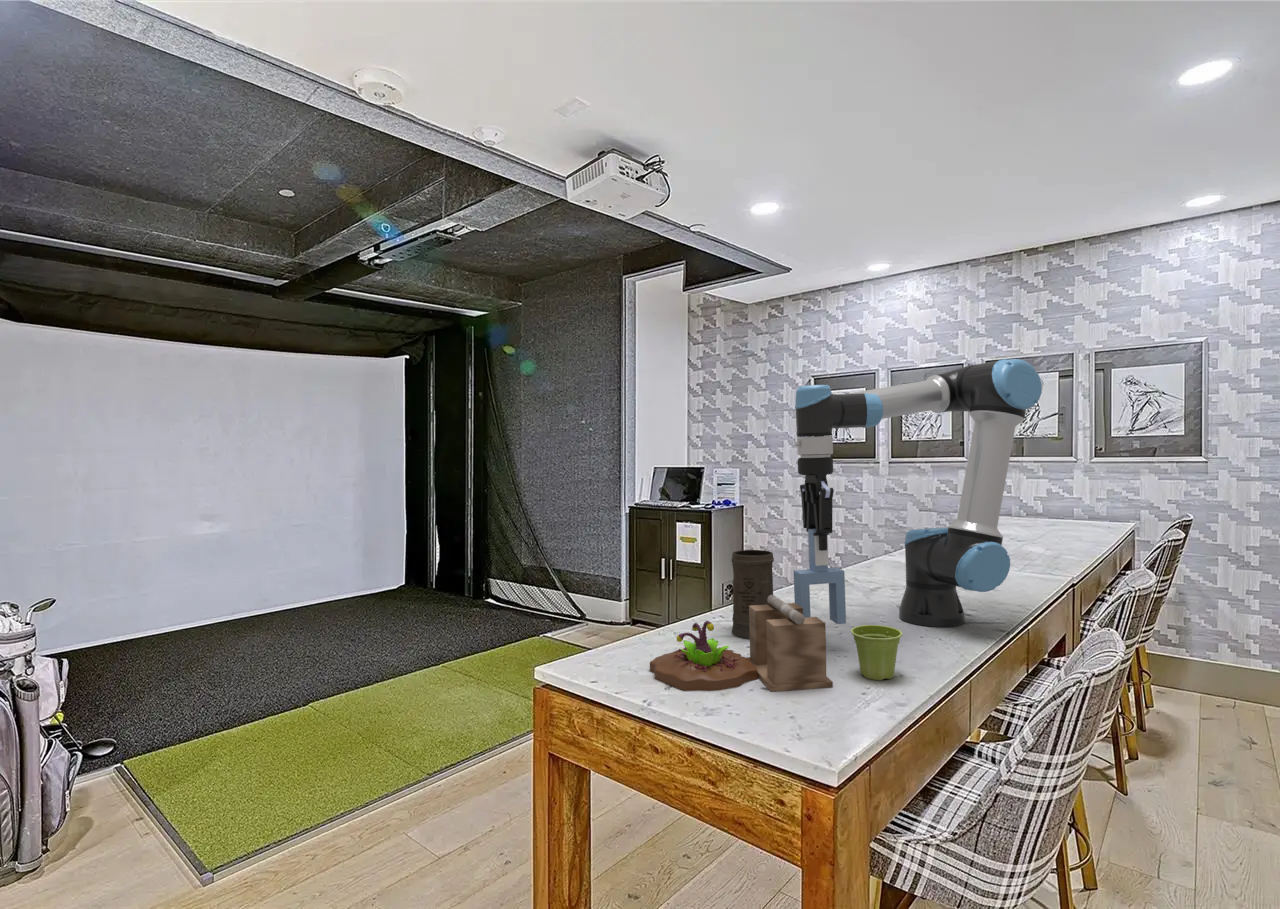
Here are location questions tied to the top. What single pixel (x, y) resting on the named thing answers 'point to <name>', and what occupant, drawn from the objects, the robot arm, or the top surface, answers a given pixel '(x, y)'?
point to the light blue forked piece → (820, 577)
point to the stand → (787, 646)
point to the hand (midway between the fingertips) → (818, 563)
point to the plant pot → (877, 650)
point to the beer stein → (750, 586)
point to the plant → (703, 665)
